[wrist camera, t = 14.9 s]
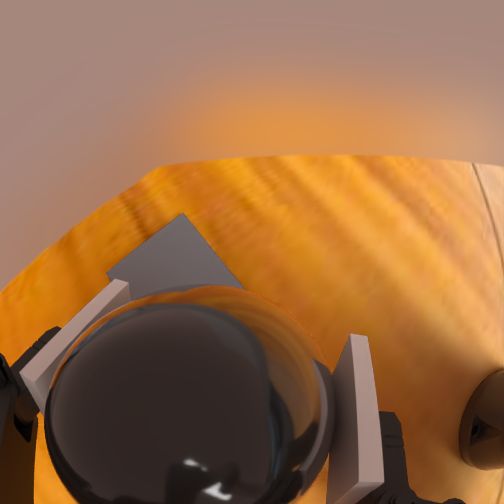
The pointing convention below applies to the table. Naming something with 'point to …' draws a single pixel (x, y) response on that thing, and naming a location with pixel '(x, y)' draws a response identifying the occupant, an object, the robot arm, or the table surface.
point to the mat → (172, 261)
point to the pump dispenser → (191, 403)
